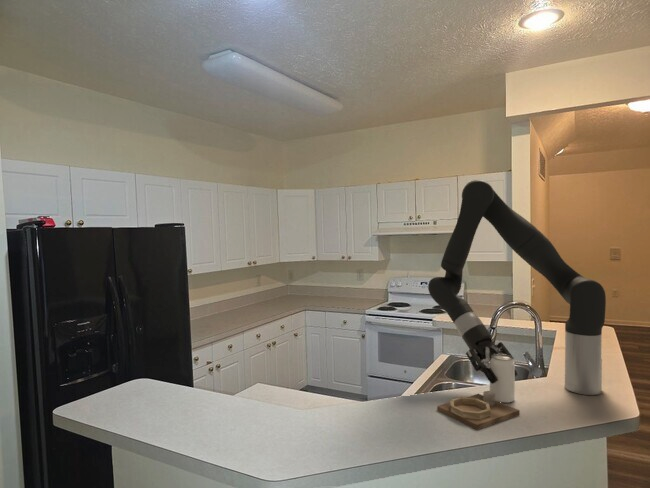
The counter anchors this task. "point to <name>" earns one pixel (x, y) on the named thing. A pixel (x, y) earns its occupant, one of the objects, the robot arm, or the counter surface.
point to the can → (503, 378)
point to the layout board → (478, 410)
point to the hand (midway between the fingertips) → (505, 379)
